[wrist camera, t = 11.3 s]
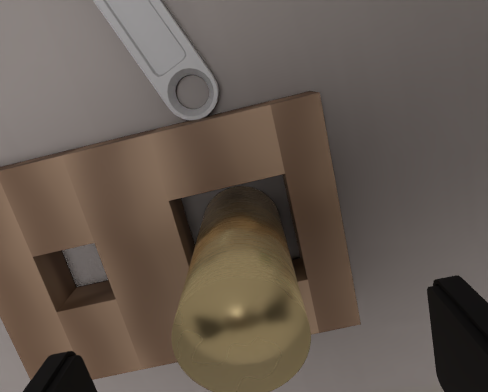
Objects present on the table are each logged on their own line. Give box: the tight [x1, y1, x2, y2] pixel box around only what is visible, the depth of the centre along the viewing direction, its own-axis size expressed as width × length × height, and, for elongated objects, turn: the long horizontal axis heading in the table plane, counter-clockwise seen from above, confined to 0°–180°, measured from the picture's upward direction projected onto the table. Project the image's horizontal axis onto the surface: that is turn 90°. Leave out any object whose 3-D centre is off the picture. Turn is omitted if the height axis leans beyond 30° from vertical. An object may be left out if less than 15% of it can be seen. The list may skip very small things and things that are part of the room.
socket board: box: [0, 91, 361, 380], centre depth 20 cm, size 18×12×2 cm, turn 103°
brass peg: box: [171, 186, 311, 392], centre depth 16 cm, size 4×4×10 cm
